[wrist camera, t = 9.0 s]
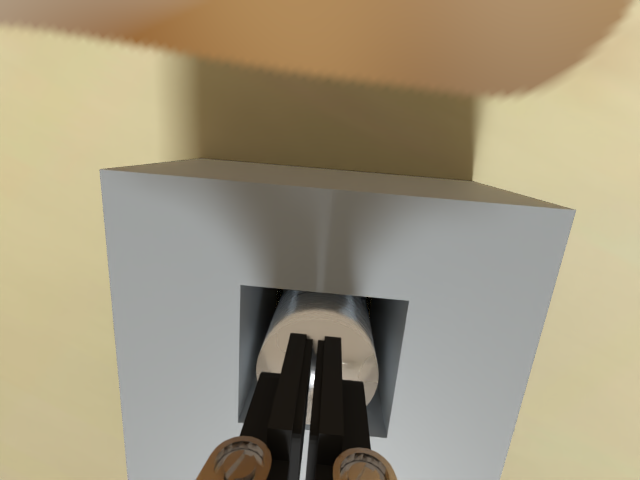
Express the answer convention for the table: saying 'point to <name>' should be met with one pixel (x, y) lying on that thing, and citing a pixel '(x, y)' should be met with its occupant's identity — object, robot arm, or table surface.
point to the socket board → (326, 277)
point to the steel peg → (323, 335)
